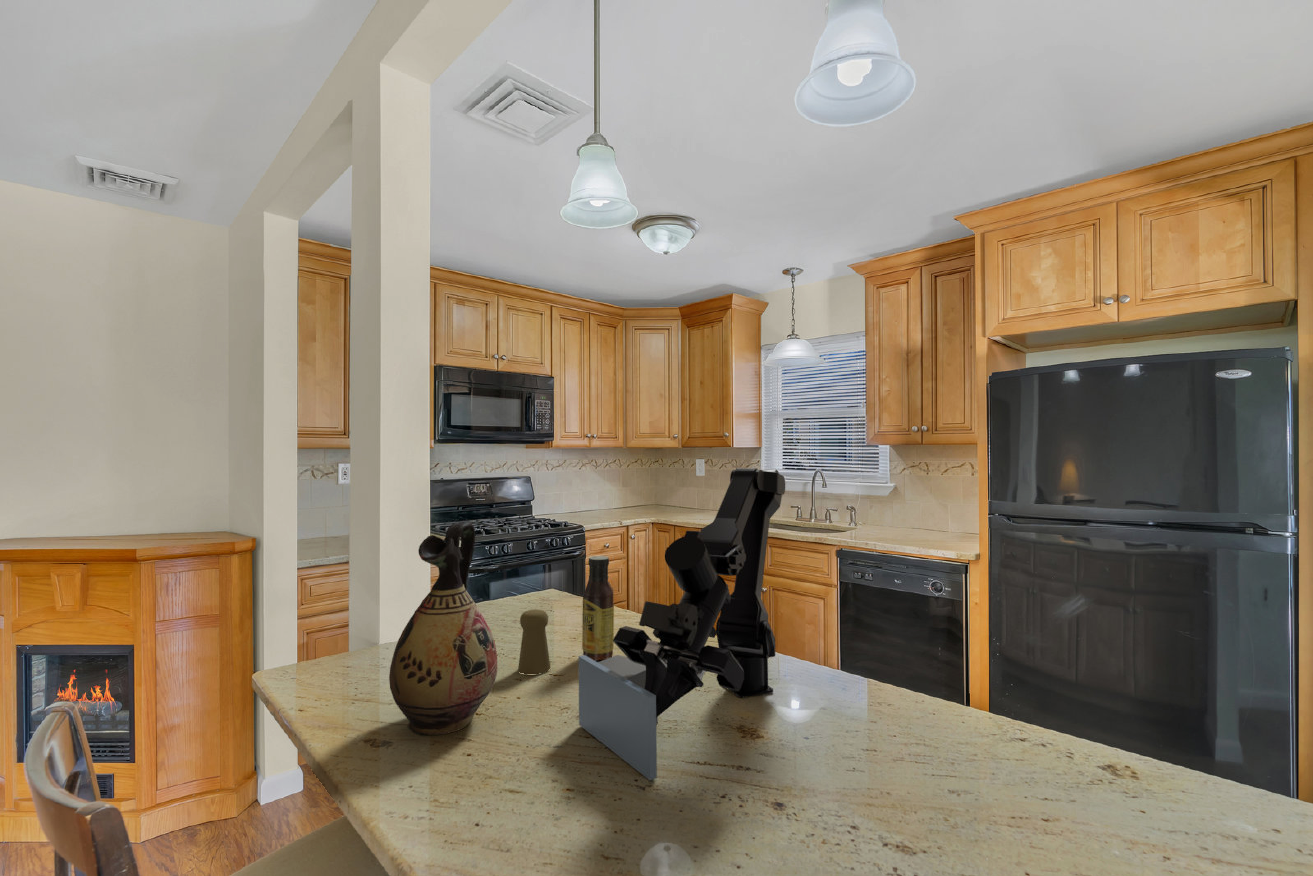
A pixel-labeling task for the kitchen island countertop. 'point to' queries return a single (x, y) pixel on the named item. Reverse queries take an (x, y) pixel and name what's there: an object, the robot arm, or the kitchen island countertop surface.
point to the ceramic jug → (444, 644)
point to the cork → (534, 643)
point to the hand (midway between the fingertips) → (647, 716)
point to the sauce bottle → (598, 612)
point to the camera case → (627, 670)
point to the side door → (618, 715)
